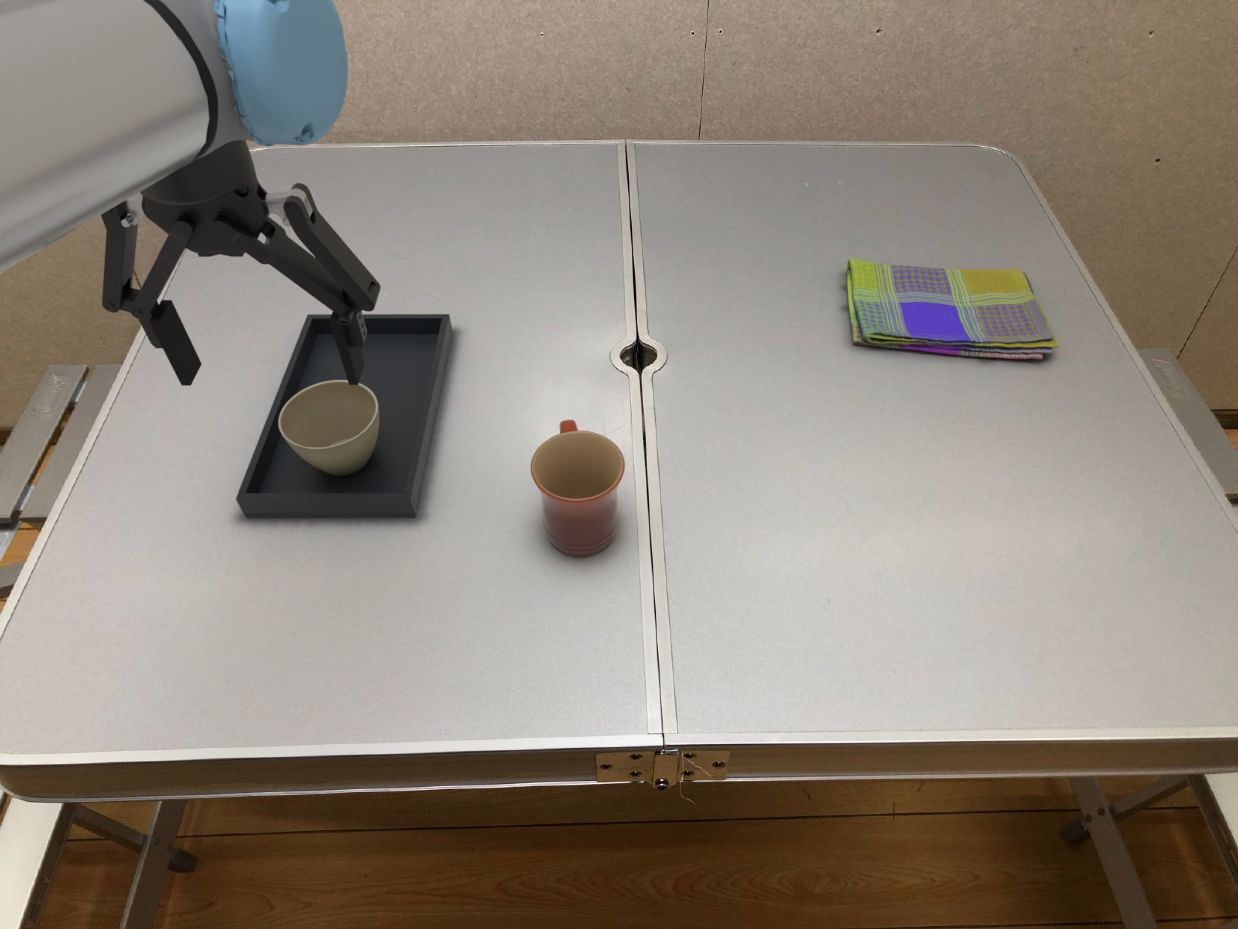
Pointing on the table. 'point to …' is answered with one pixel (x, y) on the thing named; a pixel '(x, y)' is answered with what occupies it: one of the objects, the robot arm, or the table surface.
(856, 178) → the table surface
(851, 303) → the dish towel
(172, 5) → the robot arm
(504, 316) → the table surface
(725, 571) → the table surface
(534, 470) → the mug
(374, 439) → the flower pot
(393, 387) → the tray
